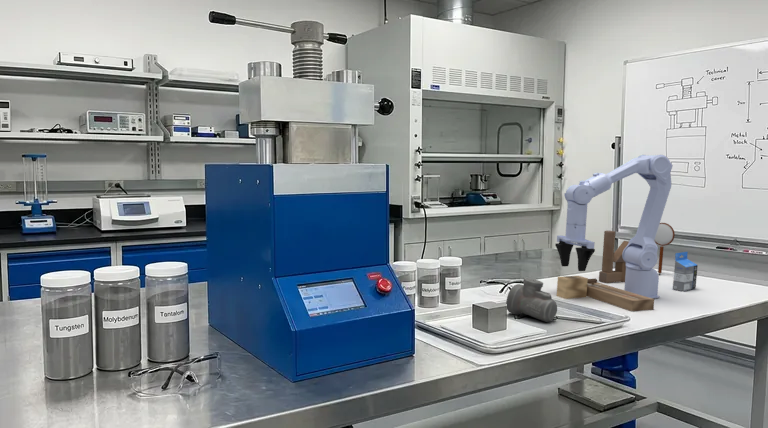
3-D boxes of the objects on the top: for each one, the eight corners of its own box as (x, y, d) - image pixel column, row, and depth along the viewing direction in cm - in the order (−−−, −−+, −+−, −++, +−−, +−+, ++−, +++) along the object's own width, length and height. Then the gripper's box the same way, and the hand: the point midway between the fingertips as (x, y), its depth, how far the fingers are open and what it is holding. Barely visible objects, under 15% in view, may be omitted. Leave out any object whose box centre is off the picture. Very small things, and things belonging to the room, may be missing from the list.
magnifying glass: (672, 277, 209) (676, 223, 207) (669, 277, 208) (674, 224, 206) (649, 273, 216) (653, 221, 214) (647, 273, 215) (651, 221, 213)
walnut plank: (593, 290, 181) (594, 281, 181) (653, 309, 159) (654, 298, 159) (573, 291, 178) (574, 282, 178) (631, 311, 156) (632, 300, 156)
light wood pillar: (590, 293, 177) (591, 275, 177) (599, 296, 173) (600, 277, 173) (556, 296, 172) (557, 276, 172) (565, 299, 169) (566, 279, 168)
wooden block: (629, 281, 198) (633, 231, 196) (606, 283, 193) (609, 231, 192) (621, 279, 201) (624, 229, 199) (598, 281, 197) (601, 230, 195)
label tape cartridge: (683, 292, 184) (687, 254, 182) (671, 289, 187) (674, 253, 186) (696, 289, 189) (699, 253, 188) (684, 286, 192) (687, 251, 191)
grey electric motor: (501, 313, 148) (509, 275, 147) (518, 310, 154) (526, 274, 152) (541, 329, 139) (549, 289, 138) (557, 326, 145) (565, 288, 144)
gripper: (550, 221, 175) (547, 264, 176) (582, 227, 162) (578, 273, 163) (568, 221, 178) (565, 263, 179) (601, 227, 164) (598, 272, 166)
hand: (573, 268), depth 171 cm, fingers open, 7 cm apart
